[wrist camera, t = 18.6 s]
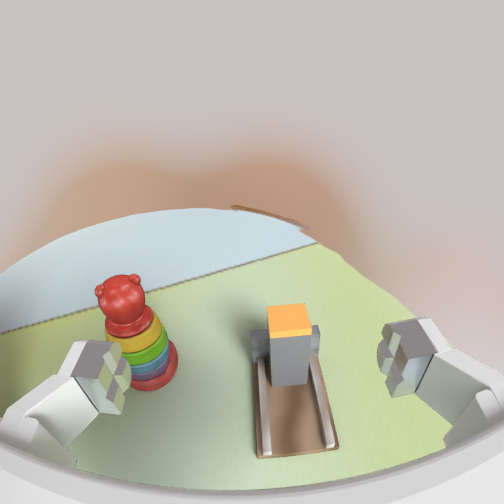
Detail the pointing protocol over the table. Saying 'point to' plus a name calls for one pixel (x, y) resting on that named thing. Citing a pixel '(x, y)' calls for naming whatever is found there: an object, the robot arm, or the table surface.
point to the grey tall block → (289, 344)
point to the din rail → (291, 406)
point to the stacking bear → (137, 332)
